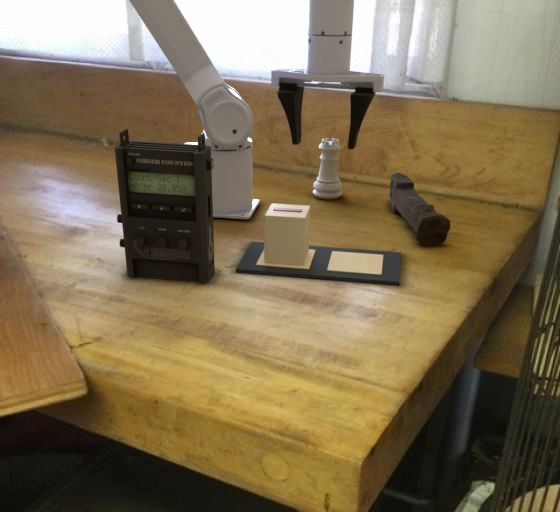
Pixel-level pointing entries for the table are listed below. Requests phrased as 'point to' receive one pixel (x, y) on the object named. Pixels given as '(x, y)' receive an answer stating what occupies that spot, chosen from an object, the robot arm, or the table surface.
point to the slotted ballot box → (286, 234)
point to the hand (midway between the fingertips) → (323, 145)
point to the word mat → (329, 265)
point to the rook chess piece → (328, 171)
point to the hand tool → (417, 212)
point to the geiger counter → (166, 209)
